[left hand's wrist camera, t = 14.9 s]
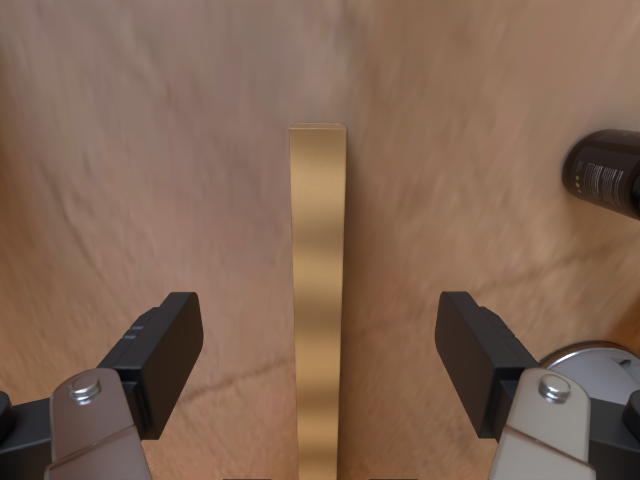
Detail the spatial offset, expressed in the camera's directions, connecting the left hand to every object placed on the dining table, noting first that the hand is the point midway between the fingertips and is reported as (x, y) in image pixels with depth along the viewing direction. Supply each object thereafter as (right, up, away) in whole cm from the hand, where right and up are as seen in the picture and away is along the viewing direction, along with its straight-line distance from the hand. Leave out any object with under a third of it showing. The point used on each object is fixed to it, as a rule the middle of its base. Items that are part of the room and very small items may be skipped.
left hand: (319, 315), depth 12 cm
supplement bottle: (+27, +10, +23) cm, 37 cm away
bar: (0, -11, +31) cm, 33 cm away
